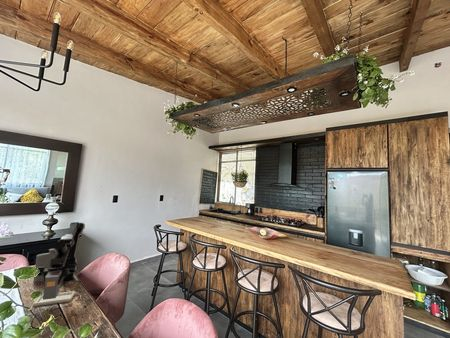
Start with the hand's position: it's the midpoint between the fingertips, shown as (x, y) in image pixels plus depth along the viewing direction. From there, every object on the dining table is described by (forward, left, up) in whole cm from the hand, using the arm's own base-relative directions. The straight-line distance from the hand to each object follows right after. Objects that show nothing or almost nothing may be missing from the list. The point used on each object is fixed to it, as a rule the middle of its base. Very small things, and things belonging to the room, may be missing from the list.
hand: (51, 285), depth 111 cm
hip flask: (-41, +6, -12) cm, 43 cm away
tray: (-7, +4, -12) cm, 14 cm away
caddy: (-1, +1, -7) cm, 7 cm away
